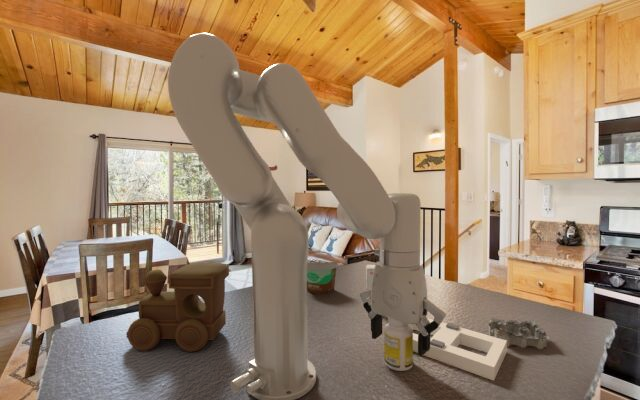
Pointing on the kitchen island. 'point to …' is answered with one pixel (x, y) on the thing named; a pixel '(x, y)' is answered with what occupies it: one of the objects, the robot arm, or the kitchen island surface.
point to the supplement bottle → (398, 345)
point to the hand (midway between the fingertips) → (398, 344)
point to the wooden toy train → (181, 307)
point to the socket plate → (449, 353)
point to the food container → (321, 276)
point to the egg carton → (518, 332)
